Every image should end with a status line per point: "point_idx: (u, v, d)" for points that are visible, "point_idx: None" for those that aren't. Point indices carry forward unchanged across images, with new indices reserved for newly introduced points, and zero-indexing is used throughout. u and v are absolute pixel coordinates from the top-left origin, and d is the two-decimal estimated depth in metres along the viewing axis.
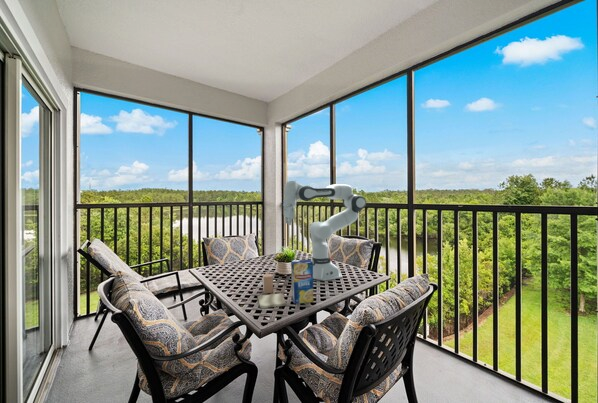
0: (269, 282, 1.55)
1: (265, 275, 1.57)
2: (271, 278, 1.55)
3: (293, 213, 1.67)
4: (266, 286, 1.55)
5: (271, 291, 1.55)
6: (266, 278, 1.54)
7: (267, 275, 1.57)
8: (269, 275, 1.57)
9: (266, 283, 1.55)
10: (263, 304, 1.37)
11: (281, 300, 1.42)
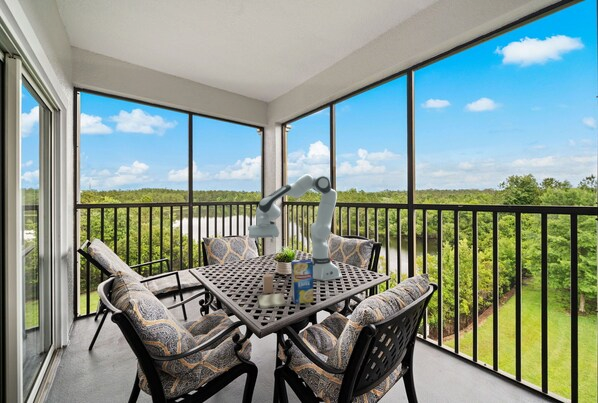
0: (269, 282, 1.55)
1: (265, 275, 1.57)
2: (271, 278, 1.55)
3: (249, 231, 1.71)
4: (266, 286, 1.55)
5: (271, 291, 1.55)
6: (266, 278, 1.54)
7: (267, 275, 1.57)
8: (269, 275, 1.57)
9: (266, 283, 1.55)
10: (263, 304, 1.37)
11: (281, 300, 1.42)
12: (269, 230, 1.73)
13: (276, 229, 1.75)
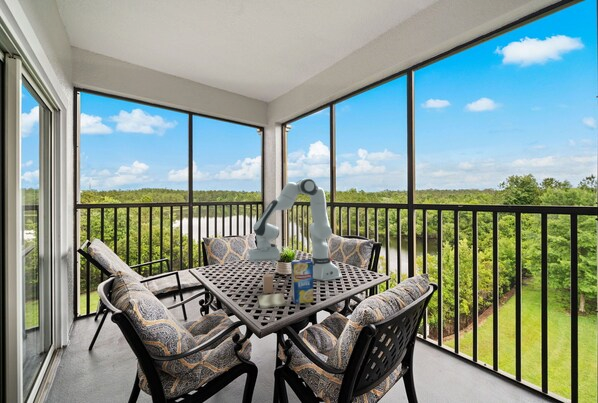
0: (269, 282, 1.55)
1: (265, 275, 1.57)
2: (271, 278, 1.55)
3: None
4: (266, 286, 1.55)
5: (271, 291, 1.55)
6: (266, 278, 1.54)
7: (267, 275, 1.57)
8: (269, 275, 1.57)
9: (266, 283, 1.55)
10: (263, 304, 1.37)
11: (281, 300, 1.42)
12: (270, 254, 1.69)
13: (277, 252, 1.71)
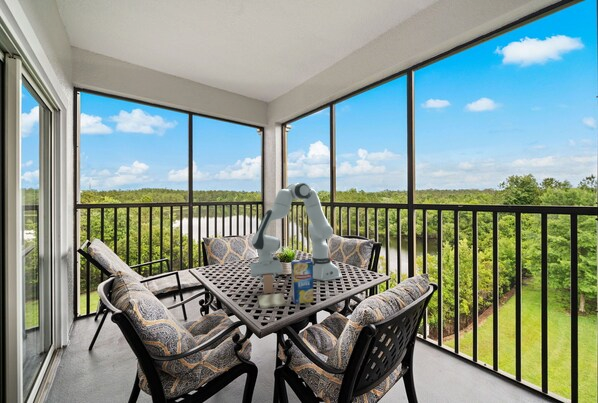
0: (269, 282, 1.55)
1: (265, 275, 1.57)
2: (271, 278, 1.55)
3: None
4: (266, 286, 1.55)
5: (271, 291, 1.55)
6: (266, 278, 1.54)
7: (267, 275, 1.57)
8: (269, 275, 1.57)
9: (266, 283, 1.55)
10: (263, 304, 1.37)
11: (281, 300, 1.42)
12: (272, 268, 1.61)
13: (280, 266, 1.63)
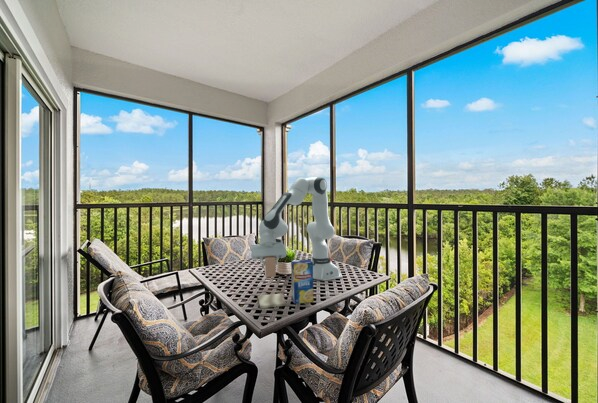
0: (271, 265, 1.41)
1: (267, 257, 1.44)
2: (274, 260, 1.42)
3: (251, 252, 1.46)
4: (268, 269, 1.41)
5: (273, 275, 1.42)
6: (268, 260, 1.41)
7: (269, 257, 1.44)
8: (271, 257, 1.44)
9: (268, 266, 1.41)
10: (263, 304, 1.37)
11: (281, 300, 1.42)
12: (275, 250, 1.48)
13: (283, 248, 1.49)
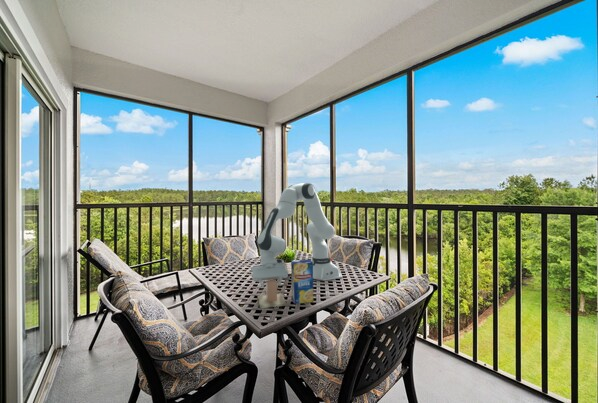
0: (273, 289, 1.40)
1: (268, 281, 1.43)
2: (275, 285, 1.41)
3: None
4: (270, 294, 1.40)
5: (275, 299, 1.41)
6: (269, 285, 1.40)
7: (271, 281, 1.43)
8: (273, 281, 1.43)
9: (270, 290, 1.40)
10: (263, 304, 1.37)
11: (281, 300, 1.42)
12: (276, 271, 1.47)
13: (284, 269, 1.48)
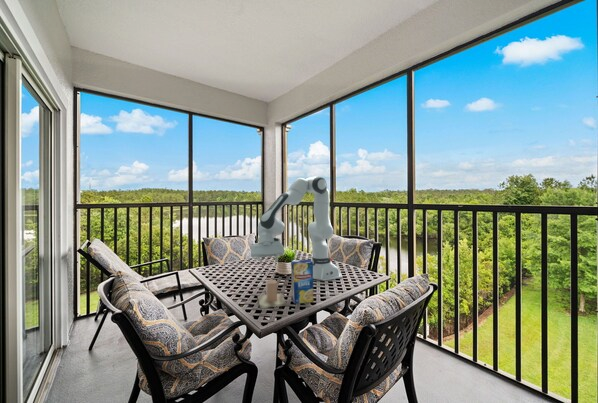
0: (273, 289, 1.40)
1: (268, 281, 1.43)
2: (275, 285, 1.41)
3: (251, 250, 1.54)
4: (270, 294, 1.40)
5: (275, 299, 1.41)
6: (269, 285, 1.40)
7: (271, 281, 1.43)
8: (273, 281, 1.43)
9: (270, 290, 1.40)
10: (263, 304, 1.37)
11: (281, 300, 1.42)
12: (273, 249, 1.57)
13: (281, 247, 1.58)
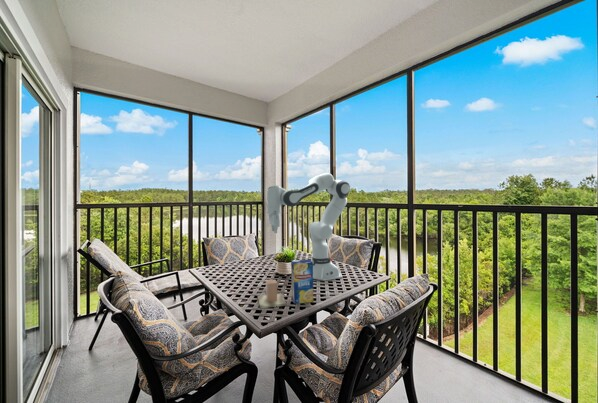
0: (273, 289, 1.40)
1: (268, 281, 1.43)
2: (275, 285, 1.41)
3: (278, 221, 1.57)
4: (270, 294, 1.40)
5: (275, 299, 1.41)
6: (269, 285, 1.40)
7: (271, 281, 1.43)
8: (273, 281, 1.43)
9: (270, 290, 1.40)
10: (263, 304, 1.37)
11: (281, 300, 1.42)
12: None
13: None
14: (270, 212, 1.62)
